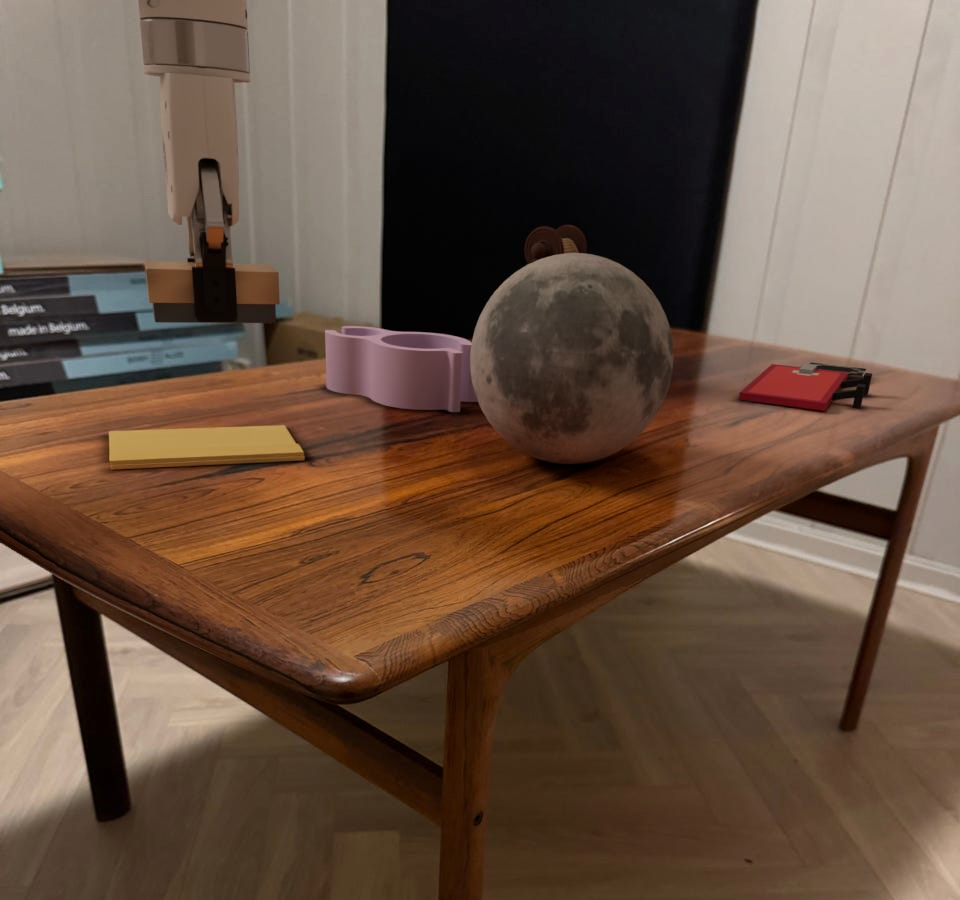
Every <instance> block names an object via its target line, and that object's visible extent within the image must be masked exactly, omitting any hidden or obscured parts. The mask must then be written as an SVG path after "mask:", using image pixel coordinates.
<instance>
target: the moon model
mask: <svg viewBox="0 0 960 900" xmlns="http://www.w3.org/2000/svg"><path fill="white" fill-rule="evenodd" d="M671 330H672V329H671V326H670V323H669V321H668V318H667V314H666V312H665V310H664V309H663V306H662V305H661V302H660V300H658V298H657V296H656V295H655V293H654V292H653V290H652V289H650V287H649V286H648V285H647V284H646V282H645V281H643V280H642V279H641V277H639V276H638V275H636V274H635V272H633V271H632V270H630V269H629V268H627V267H625V266H624V265H622V264H620V263H619V262H617V261H614V260H612V259H609V258H607V257H605V256H604V257H603V256H600V255H595V254H592V253H586V254H584V253H566V254H558V255H553V256H549V257H546V258H542V259H539V260H537V261H535V262H533V263H530V264H528V263H527V264H526V265H525V266H522V267H521V268H520V269H518V270H517V271H515V272H514V273H513V274H511V275H510V276H509V277H508V278H506V279H505V280H504V281H503V282H502V284H500V285H499V287H498V288H496V290H495V291H494V292H493V294H492V295H491V296H490V298H489V299H488V300H487V302H486V303H485V305H484V307H483V309H482V311H481V313H480V314H479V317H478V320H477V322H476V325H475V327H474V331H473V336H472V340H471V343H472V345H471V354H470V371H471V377H472V384H473V388H474V391H475V395H476V398H477V400H478V402H477V403H478V405H479V408H480V410H481V412H482V413H483V415H484V417H485V418H486V420H487V421H488V423H489V425H491V427H492V428H493V429H494V431H496V433H497V434H498V435H499V436H500V437H501V438H503V440H505V441H506V442H507V444H509V445H510V446H512V447H514V448H515V449H516V450H518V451H519V452H521V453H523V454H525V455H527V456H530V457H532V458H534V459H537V460H540V461H544V462H548V463H552V464H559V465H577V464H586V463H591V462H595V461H598V460H601V459H604V458H607V457H610V456H611V455H613V454H615V453H618V452H619V451H621V450H623V449H624V448H625V447H627V446H630V445H631V443H633V442H634V441H635V440H637V439H638V437H640V436H641V435H642V434H643V433H644V432H645V430H646V429H647V428H648V427H649V426H650V425H651V423H652V422H653V421H654V419H655V418H656V416H657V415H658V414H659V412H660V409H661V408H662V406H663V404H664V401H665V400H666V397H667V395H668V391H669V389H670V385H671V381H672V375H673V371H674V357H675V355H674V341H673V335H672V331H671Z"/></svg>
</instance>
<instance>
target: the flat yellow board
mask: <svg viewBox="0 0 960 900" xmlns="http://www.w3.org/2000/svg"><path fill="white" fill-rule="evenodd" d="M108 449H109V451H108V454H109V456H108V457H109V468H110V470H113V471H114V470H133V469H152V468H173V467H175V468H176V467H194V466H195V467H196V466H214V465H216V466H217V465H235V464H237V465H239V464H257V463H259V464H260V463H280V462H296V461H297V462H300V461H301V462H302V461H305V458H306V457H305V451H304V450H303V449H302V447H301V445H300V444H299V443H296V440H295V439H294V437H293V436H292V434H291V432H290V431H289V430H288V428H287V426H286V425H285V424H278V425H277V424H276V425H249V426H247V425H246V426H221V427H194V428H193V427H191V428H188V427H187V428H165V429H164V428H162V429H136V430H135V429H134V430H109V431H108Z"/></svg>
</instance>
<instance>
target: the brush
mask: <svg viewBox="0 0 960 900" xmlns="http://www.w3.org/2000/svg"><path fill="white" fill-rule="evenodd" d="M192 267H196V266H195V262H187V261H161V260H159V261H158V260H156V261H155V260H154V261H153V260H145V261H144V271H145V281H146V292H147V293H146V294H147V297H148V302H149V304H152V313H153V319H154V322H155V323H172V324H173V323H174V324H175V323H177V324H178V323H179V324H181V323H183V324H184V323H185V324H188V323H190V324H192V323H193V324H197V323H198V324H207V323H208V324H276V323H277V310H276V305H280V303H281V302H280V299H281V298H280V276H279V275H280V273H279V271H278V270H277V269H276V268H274V266H272V264H270V263H241V262H239V263H238V262H237V263H236V262H233V268H235V277H236V295H237V313H238V319H237V320H236V321H235V322H200V321H198V320H197V319H196V316H195V303H194V290H193V277H192Z"/></svg>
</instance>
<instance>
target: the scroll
mask: <svg viewBox="0 0 960 900" xmlns="http://www.w3.org/2000/svg"><path fill="white" fill-rule="evenodd" d="M587 245H588V243H587V240H586V236H585V234H584V232H583V231H582V230H580V228H579V227H577V226H575V225H571V224H564V225H561V226H559V227H558V228H556V229H554V228H553V227H550V226H544V225H543V226H539V227H536V228H535V229H533V230H532V231H531V232H530V233H529V234H528V236H527V238H526V240H525V243H524V257H525V258H524V259H525V260H526V263H527V265H528V264H530V263H533V262H535V261H537V260H539V259H542V258H546V257H549V256H553V255H558V254H566V253H584V254H587V252H588V251H587V250H588V246H587Z"/></svg>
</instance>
